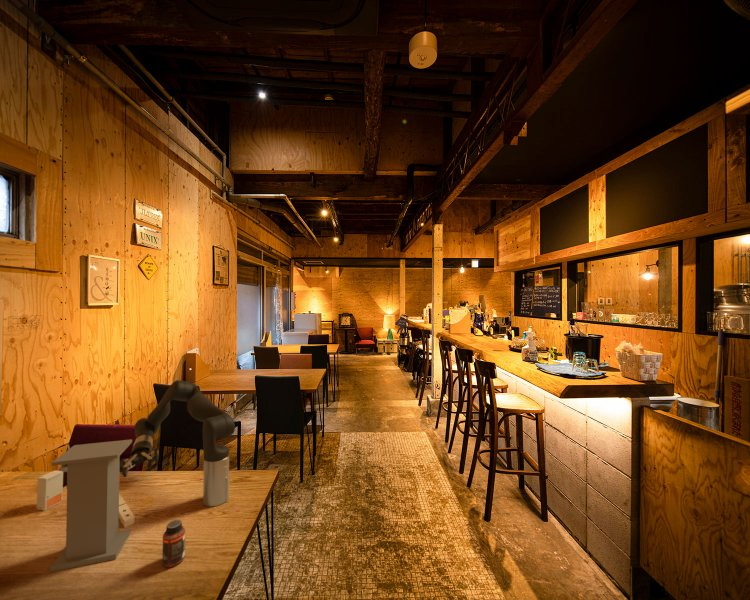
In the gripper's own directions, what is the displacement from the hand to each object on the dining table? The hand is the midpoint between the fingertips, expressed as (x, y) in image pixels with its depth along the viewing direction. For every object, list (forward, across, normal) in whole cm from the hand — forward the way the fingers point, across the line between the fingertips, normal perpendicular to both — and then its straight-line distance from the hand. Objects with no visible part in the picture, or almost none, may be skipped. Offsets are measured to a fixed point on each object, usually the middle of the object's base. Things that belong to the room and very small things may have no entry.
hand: (136, 471), depth 140 cm
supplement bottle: (+53, +17, -4) cm, 56 cm away
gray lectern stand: (+38, -6, -4) cm, 38 cm away
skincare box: (+2, -28, +1) cm, 28 cm away
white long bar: (+18, -3, +2) cm, 18 cm away
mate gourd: (-14, -28, +6) cm, 32 cm away
